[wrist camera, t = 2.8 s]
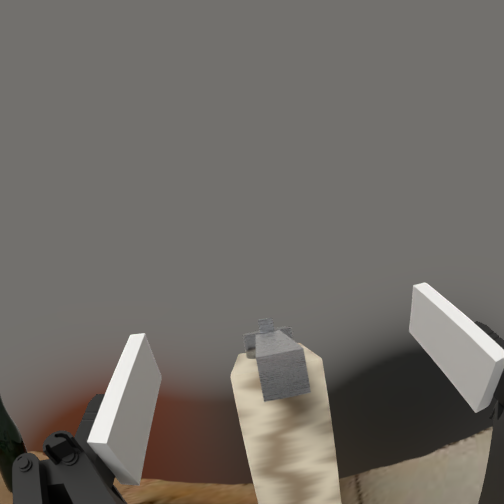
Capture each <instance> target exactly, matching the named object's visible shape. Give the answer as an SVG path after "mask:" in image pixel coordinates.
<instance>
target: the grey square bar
mask: <svg viewBox="0 0 504 504" xmlns="http://www.w3.org/2000/svg"><path fill="white" fill-rule="evenodd" d="M258 323H259V328H260V331H257V332H252V333H248V334H244V335H243V340H244V345H245V351H246V356H247V358H248V359H256V361H257V367H258V372H259V377H260V383H261V388H262V393H263V399H264V402H267V401H272V400H278V399H283V398H288V397H293V396H298V395H303V394H307V393H311V390H310V384H309V378H308V372H307V366H306V360H305V355H304V349H303V348H302V347H301V346H300V345H298V344H297V343H296V342H295V341H294V339H293V333H292V327H291V326H288V327H279V328H274V326H273V321H272V318H267V319H261V320H258Z"/></svg>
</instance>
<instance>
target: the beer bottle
mask: <svg viewBox="0 0 504 504" xmlns="http://www.w3.org/2000/svg"><path fill="white" fill-rule="evenodd" d="M24 453H27V450H26V447H25V444H24V442H23V439H22V437H21V434H20V432H19V430H18V428H17V426H16V424H15V423H14V421H13V420H12V418H11V417H10V415H9V413H8V412H7V410H6V408H5V406H4V404H3V401H2V398H1V395H0V473H1V475H2V478H3V480H4V482H5V485H6V487H7V489H8V490H9V491H10V492H12V493H13V486H12V467H13V463H14V461H15V459H16V458H17V457H18V456H20V455H21V454H24Z"/></svg>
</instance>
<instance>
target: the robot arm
mask: <svg viewBox="0 0 504 504" xmlns="http://www.w3.org/2000/svg"><path fill="white" fill-rule="evenodd" d="M409 332H410V333H411V334H412V335H413V337H414V338H415V339H416V340H417V341H418V342H419V344H420V345H421V346H422V347H423V348H424V349H425V351H426V352H427V353H428V354H429V355H430V357H431V358H432V359H433V360H434V361H435V363H436V364H437V365H438V366H439V367H440V368H441V370H442V371H443V372H444V374H445V375H446V376H447V377H448V378H449V379H450V381H451V382H452V383H453V385H454V386H455V387H456V388H457V390H458V391H459V392H460V393H461V395H462V396H463V397H464V399H465V400H466V401H467V402H468V404H469V405H470V406H471V408H472V409H473V410H474V411H475V413H477V412H479V411H480V410H482V409H484V408H486V407H488V406H489V404H490V402H491V400H492V397H493V396H494V397H495V398H496V399H497V402H496V405H495V407H494V409H493V411H492V413H491V415H490V419H491V418H492V417H493V415H494V423H493V431H492V439H491V446H490V452H489V458H488V464H487V469H486V474H485V479H484V483H483V487H482V492H481V496H480V500H479V503H478V504H504V340H503V339H501V338H499V336H498V335H497V334H496V333H494V332H493V331H492V330H491V329H490V328H489V327H488V326H487V325H484V324H482V323H480V322H478V321H477V322H472V321H471V320H470V319H469V318H468V317H467V316H465V315H464V314H463V313H462V312H461V311H460V310H458V309H457V308H456V307H455V306H454V305H453V304H451V303H450V302H449V301H448V300H446V299H445V298H444V297H443V296H442V295H440V294H439V293H438V292H437V291H436V290H434V289H433V288H432V287H431V286H429V285H428V284H427V283H422V284H417V285H414V286H413V297H412V308H411V317H410V326H409ZM161 379H162V376H161V374H160V371H159V369H158V366H157V364H156V361H155V359H154V356H153V353H152V351H151V348H150V345H149V343H148V341H147V337H146V335H145V334H144V333H143V334H133V335H130V337H129V339H128V342H127V344H126V346H125V349H124V351H123V353H122V355H121V358H120V360H119V362H118V364H117V367H116V369H115V372H114V374H113V377H112V379H111V381H110V384H109V386H108V389H107V391H106V393H105V394H96V396H95V397H94V398H93V399H92V400H91V401H90V402H89V404H88V406H87V409H86V411H85V413H84V416H83V418H82V421H81V423H80V425H79V428H78V430H77V433H76V435H75V437H73V436H72V435H71V433H69V432H67V431H57V432H54V433H52V434H51V435H50V436H48V437H47V438H46V440H45V441H44V444H43V452H44V453H45V454H46V455H47V456H48V457H49V459H48V460H41V461H40V460H39V459H38V458H37V457H36V456H35V455H34V454H32V453H24V454H21V455H20V456H18V457H17V458H16V459H15V461H14V463H13V467H12V486H13V504H127V503H126V501H125V500H124V499H123V497H122V496H121V494H120V493H119V491H118V490H117V488H116V487H115V486H114V485H113V482H114V478H115V477H116V479H117V480H118V481H119V482H120V483H121V484H127V485H140V479H141V474H142V468H143V463H144V457H145V453H146V448H147V443H148V438H149V433H150V428H151V423H152V419H153V414H154V409H155V405H156V400H157V396H158V392H159V387H160V382H161Z"/></svg>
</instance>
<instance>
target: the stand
mask: <svg viewBox="0 0 504 504" xmlns="http://www.w3.org/2000/svg"><path fill="white" fill-rule="evenodd" d="M297 344H298V345H300V346H301V347H302V348H303V349H304V355H305V360H306V366H307V372H308V378H309V384H310V390H311V393H307V394H303V395H298V396H293V397H288V398H283V399H278V400H272V401H267V402H264V399H263V393H262V388H261V383H260V377H259V372H258V367H257V361H256V359H248V358H247V356H246V353H243V354H239V355H238V358H237V360H236V363H235V366H234V368H233V370H232V373H231V381H232V386H233V391H234V396H235V401H236V406H237V411H238V416H239V420H240V425H241V430H242V434H243V439H244V444H245V448H246V453H247V457H248V461H249V466H250V470H251V474H252V479H253V483H254V487H255V491H256V495H257V500H258V504H341V495H340V486H339V478H338V470H337V469H338V468H337V460H336V452H335V444H334V437H333V429H332V422H331V415H330V408H329V401H328V395H327V388H326V382H325V375H324V369H323V363H322V358H320V357H319V356H317V355H316V354H315V353H313V352H312V351H310V350H309V349H307V348H306V347H305V346H303V345H302V344H301V343H297Z"/></svg>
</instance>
